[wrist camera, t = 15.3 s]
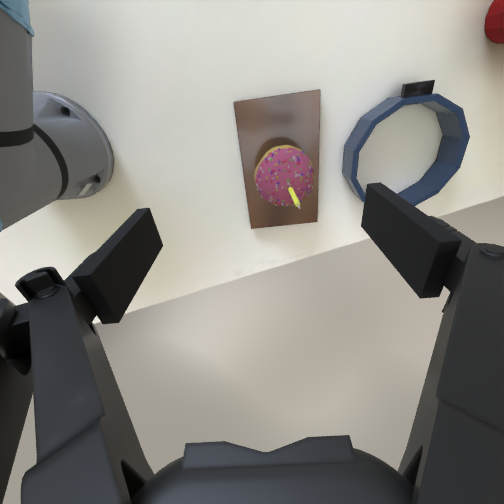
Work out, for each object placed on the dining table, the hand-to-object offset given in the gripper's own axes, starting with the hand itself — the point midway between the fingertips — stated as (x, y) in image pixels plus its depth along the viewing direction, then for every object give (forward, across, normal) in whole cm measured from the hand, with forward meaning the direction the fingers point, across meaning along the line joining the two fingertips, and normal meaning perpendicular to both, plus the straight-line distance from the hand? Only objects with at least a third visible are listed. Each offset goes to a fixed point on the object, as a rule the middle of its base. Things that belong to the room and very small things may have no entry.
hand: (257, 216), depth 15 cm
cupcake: (+26, +4, -4) cm, 27 cm away
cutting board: (+28, +4, -4) cm, 28 cm away
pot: (+27, +22, -4) cm, 35 cm away
